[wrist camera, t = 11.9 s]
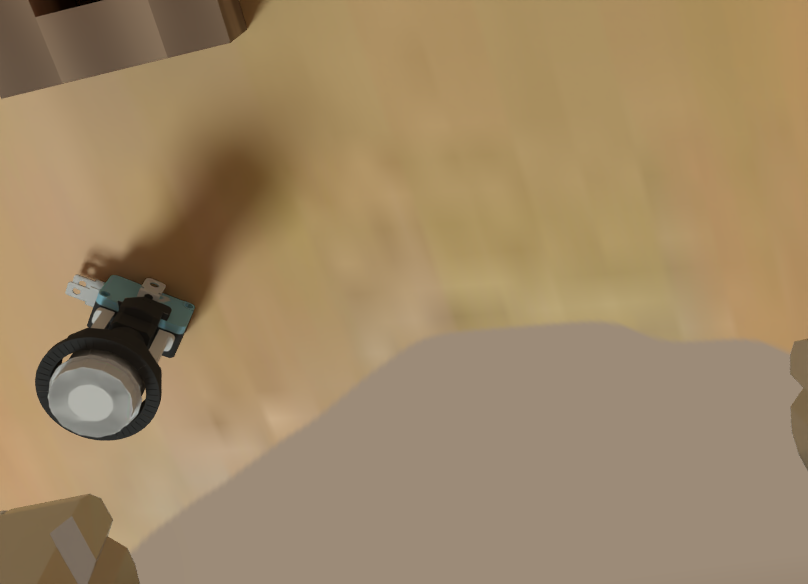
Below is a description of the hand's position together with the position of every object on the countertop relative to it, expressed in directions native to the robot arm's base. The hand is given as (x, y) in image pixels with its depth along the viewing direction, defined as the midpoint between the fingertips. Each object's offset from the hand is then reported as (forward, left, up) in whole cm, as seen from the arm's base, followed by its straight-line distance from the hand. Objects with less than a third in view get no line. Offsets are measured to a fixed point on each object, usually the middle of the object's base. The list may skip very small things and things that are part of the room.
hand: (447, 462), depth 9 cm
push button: (+16, +9, -31) cm, 36 cm away
